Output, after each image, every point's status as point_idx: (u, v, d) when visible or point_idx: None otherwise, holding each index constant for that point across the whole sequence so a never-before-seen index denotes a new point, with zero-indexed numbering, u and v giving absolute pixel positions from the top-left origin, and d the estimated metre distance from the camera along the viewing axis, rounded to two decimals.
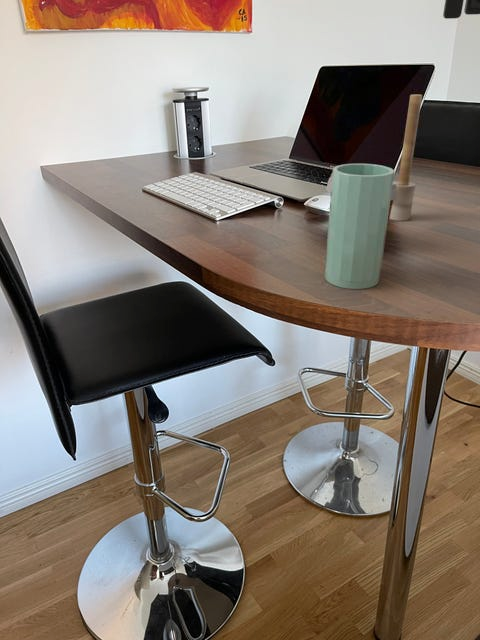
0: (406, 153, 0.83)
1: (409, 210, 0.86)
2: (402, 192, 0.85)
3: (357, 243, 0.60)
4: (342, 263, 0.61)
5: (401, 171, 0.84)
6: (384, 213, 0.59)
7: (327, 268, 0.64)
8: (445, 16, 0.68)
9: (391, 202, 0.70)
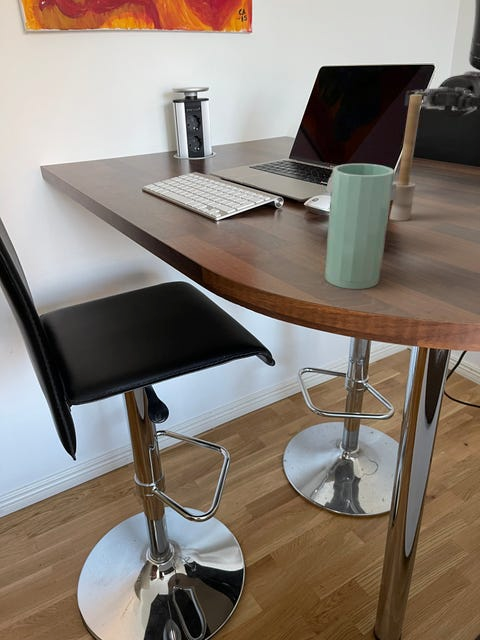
0: (406, 153, 0.83)
1: (409, 210, 0.86)
2: (402, 192, 0.85)
3: (357, 243, 0.60)
4: (342, 263, 0.61)
5: (401, 171, 0.84)
6: (384, 213, 0.59)
7: (327, 268, 0.64)
8: (457, 109, 0.86)
9: (391, 202, 0.70)
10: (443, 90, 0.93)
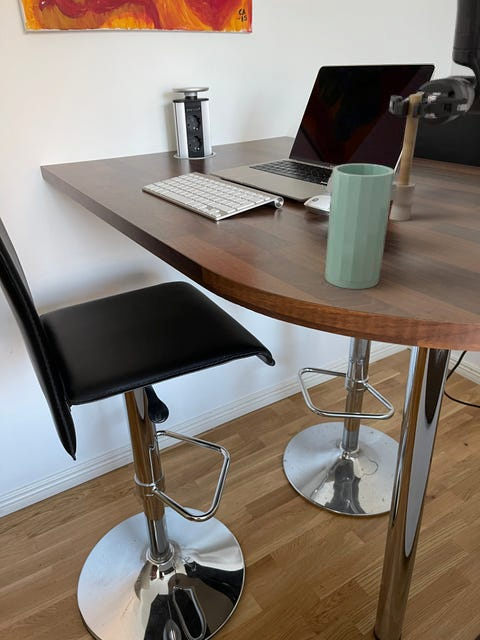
0: (406, 153, 0.83)
1: (409, 210, 0.86)
2: (402, 192, 0.85)
3: (357, 243, 0.60)
4: (342, 263, 0.61)
5: (401, 171, 0.84)
6: (384, 213, 0.59)
7: (327, 268, 0.64)
8: (413, 116, 0.78)
9: (391, 202, 0.70)
10: None
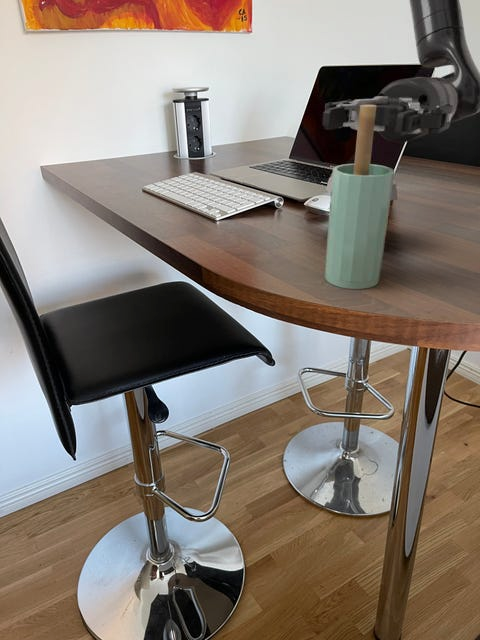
0: None
1: None
2: None
3: (357, 243, 0.60)
4: (342, 263, 0.61)
5: None
6: (384, 213, 0.59)
7: (327, 268, 0.64)
8: (396, 133, 0.53)
9: (391, 202, 0.70)
10: (381, 102, 0.61)
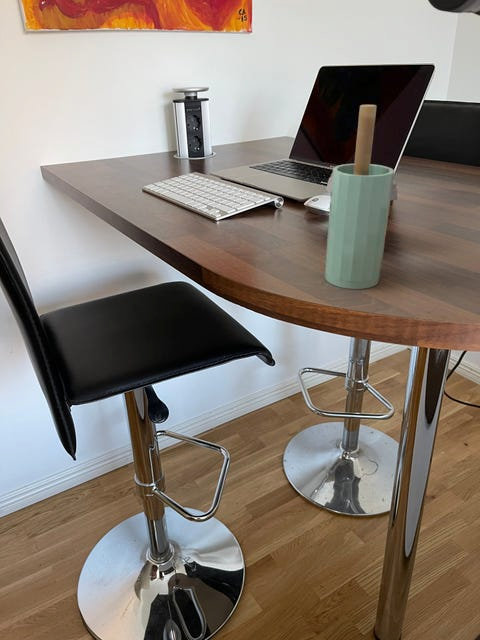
0: None
1: None
2: None
3: (357, 243, 0.60)
4: (342, 263, 0.61)
5: None
6: (384, 213, 0.59)
7: (327, 268, 0.64)
8: None
9: (391, 202, 0.70)
10: None
